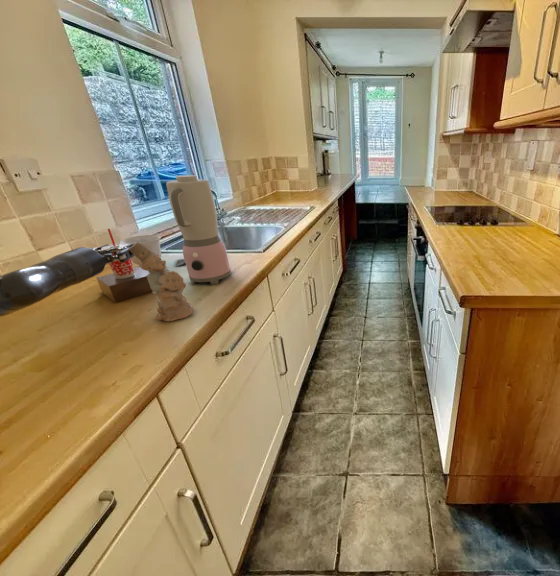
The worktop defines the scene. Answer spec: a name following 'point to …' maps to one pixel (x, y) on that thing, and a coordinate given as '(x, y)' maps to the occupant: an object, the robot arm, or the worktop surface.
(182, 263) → the build plate
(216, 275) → the blender
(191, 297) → the worktop surface
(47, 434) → the worktop surface
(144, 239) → the teacup
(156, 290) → the figurine
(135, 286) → the walnut block
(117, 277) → the beverage cup
